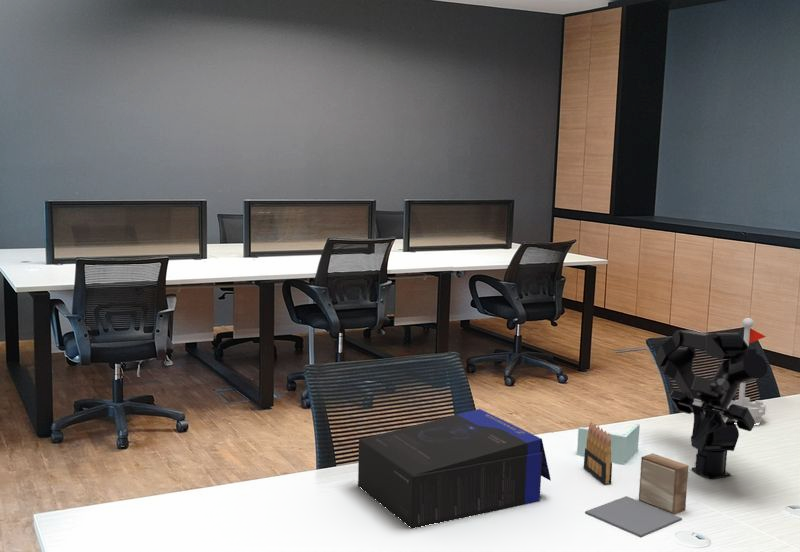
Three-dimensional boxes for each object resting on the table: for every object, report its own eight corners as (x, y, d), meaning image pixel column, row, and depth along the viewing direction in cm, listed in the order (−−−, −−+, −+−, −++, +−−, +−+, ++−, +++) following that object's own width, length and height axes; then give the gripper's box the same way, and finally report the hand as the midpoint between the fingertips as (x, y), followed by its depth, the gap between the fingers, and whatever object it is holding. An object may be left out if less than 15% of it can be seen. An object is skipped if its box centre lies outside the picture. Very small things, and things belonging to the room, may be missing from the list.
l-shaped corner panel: (637, 452, 220) (639, 424, 219) (624, 466, 210) (626, 437, 209) (592, 443, 226) (593, 416, 225) (576, 456, 216) (578, 428, 215)
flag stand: (720, 425, 243) (728, 321, 239) (711, 411, 256) (719, 312, 251) (769, 428, 241) (778, 323, 237) (758, 415, 254) (766, 315, 249)
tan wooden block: (649, 496, 191) (652, 453, 189) (685, 510, 184) (688, 465, 182) (637, 501, 188) (640, 457, 187) (673, 515, 181) (676, 469, 180)
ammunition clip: (611, 484, 197) (614, 434, 196) (604, 485, 197) (607, 434, 195) (590, 467, 208) (593, 419, 206) (583, 468, 207) (586, 420, 205)
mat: (626, 497, 190) (626, 496, 190) (681, 519, 179) (681, 517, 179) (585, 513, 181) (585, 511, 181) (640, 537, 170) (640, 535, 170)
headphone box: (550, 500, 188) (554, 437, 186) (411, 530, 171) (413, 461, 169) (487, 463, 210) (489, 406, 207) (357, 486, 193) (358, 425, 191)
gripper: (676, 354, 199) (644, 409, 194) (752, 372, 185) (719, 431, 179) (693, 382, 205) (662, 436, 200) (768, 401, 191) (737, 459, 185)
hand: (693, 439), depth 191 cm, fingers closed
